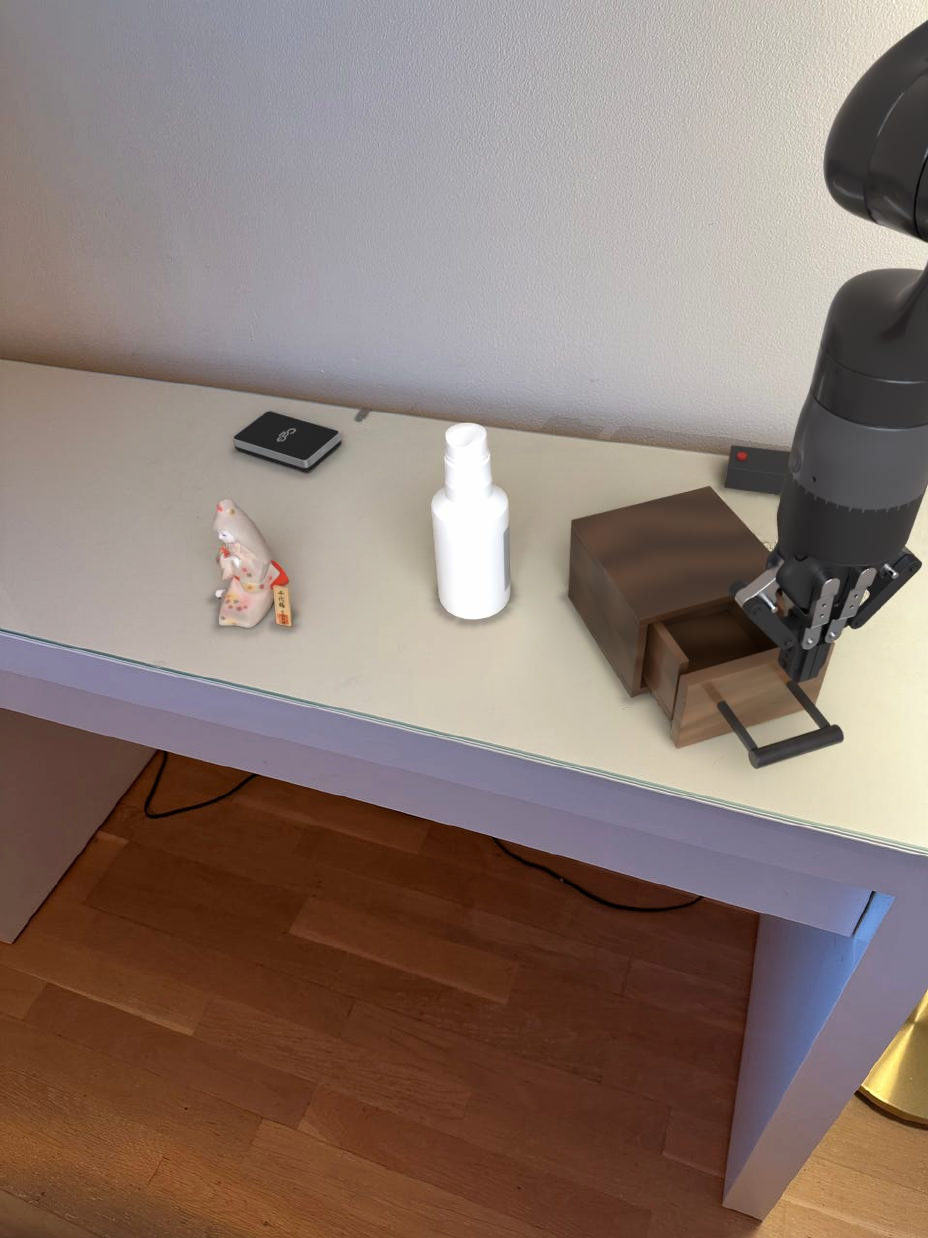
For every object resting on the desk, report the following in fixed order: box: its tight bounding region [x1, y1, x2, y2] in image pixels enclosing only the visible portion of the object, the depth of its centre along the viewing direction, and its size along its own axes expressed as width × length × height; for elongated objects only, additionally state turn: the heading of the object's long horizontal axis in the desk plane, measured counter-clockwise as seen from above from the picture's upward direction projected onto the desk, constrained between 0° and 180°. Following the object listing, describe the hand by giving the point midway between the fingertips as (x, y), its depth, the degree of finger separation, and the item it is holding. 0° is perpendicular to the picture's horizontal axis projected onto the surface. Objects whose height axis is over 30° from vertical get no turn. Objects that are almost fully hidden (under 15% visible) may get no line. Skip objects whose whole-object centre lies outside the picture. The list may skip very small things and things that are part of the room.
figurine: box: [212, 497, 293, 629], centre depth 85 cm, size 9×7×12 cm
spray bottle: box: [430, 422, 512, 620], centre depth 82 cm, size 7×7×18 cm
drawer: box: [642, 591, 845, 770], centre depth 74 cm, size 19×12×7 cm, turn 18°
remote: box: [723, 444, 791, 496], centre depth 98 cm, size 8×4×3 cm, turn 73°
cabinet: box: [567, 485, 783, 698], centre depth 81 cm, size 14×14×9 cm
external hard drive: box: [232, 410, 342, 473], centre depth 107 cm, size 7×11×2 cm, turn 60°
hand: (798, 672), depth 64 cm, fingers closed
